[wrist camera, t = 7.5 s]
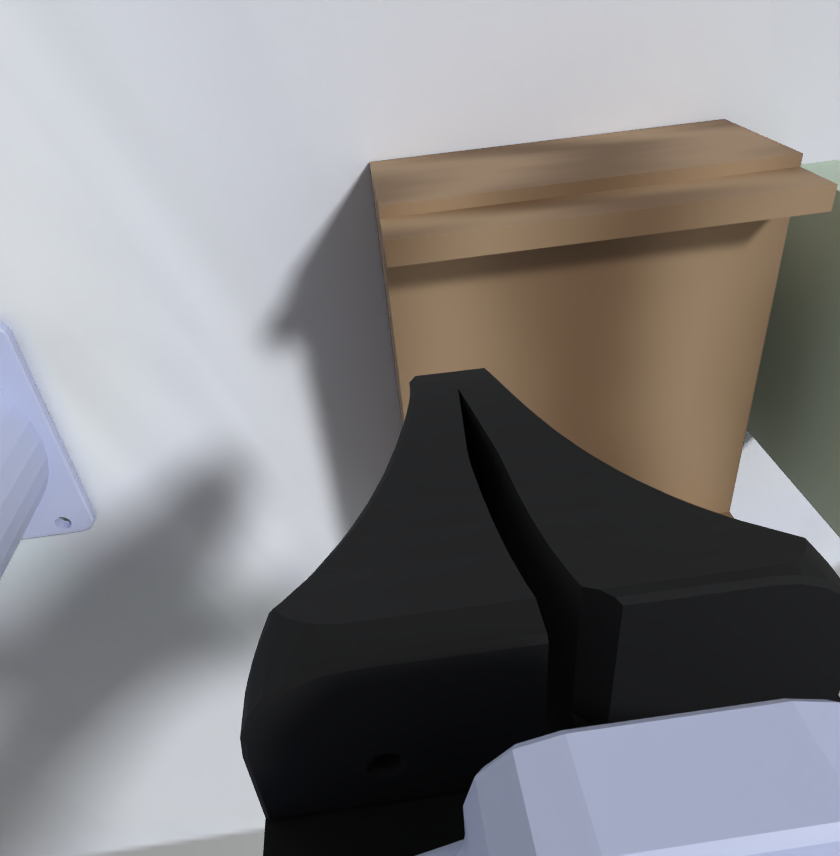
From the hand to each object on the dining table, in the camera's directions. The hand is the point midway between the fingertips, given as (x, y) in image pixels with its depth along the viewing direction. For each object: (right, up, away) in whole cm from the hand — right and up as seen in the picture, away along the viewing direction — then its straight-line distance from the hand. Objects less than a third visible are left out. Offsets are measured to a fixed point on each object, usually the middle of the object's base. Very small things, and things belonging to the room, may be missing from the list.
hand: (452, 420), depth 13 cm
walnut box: (+4, +3, +10) cm, 11 cm away
